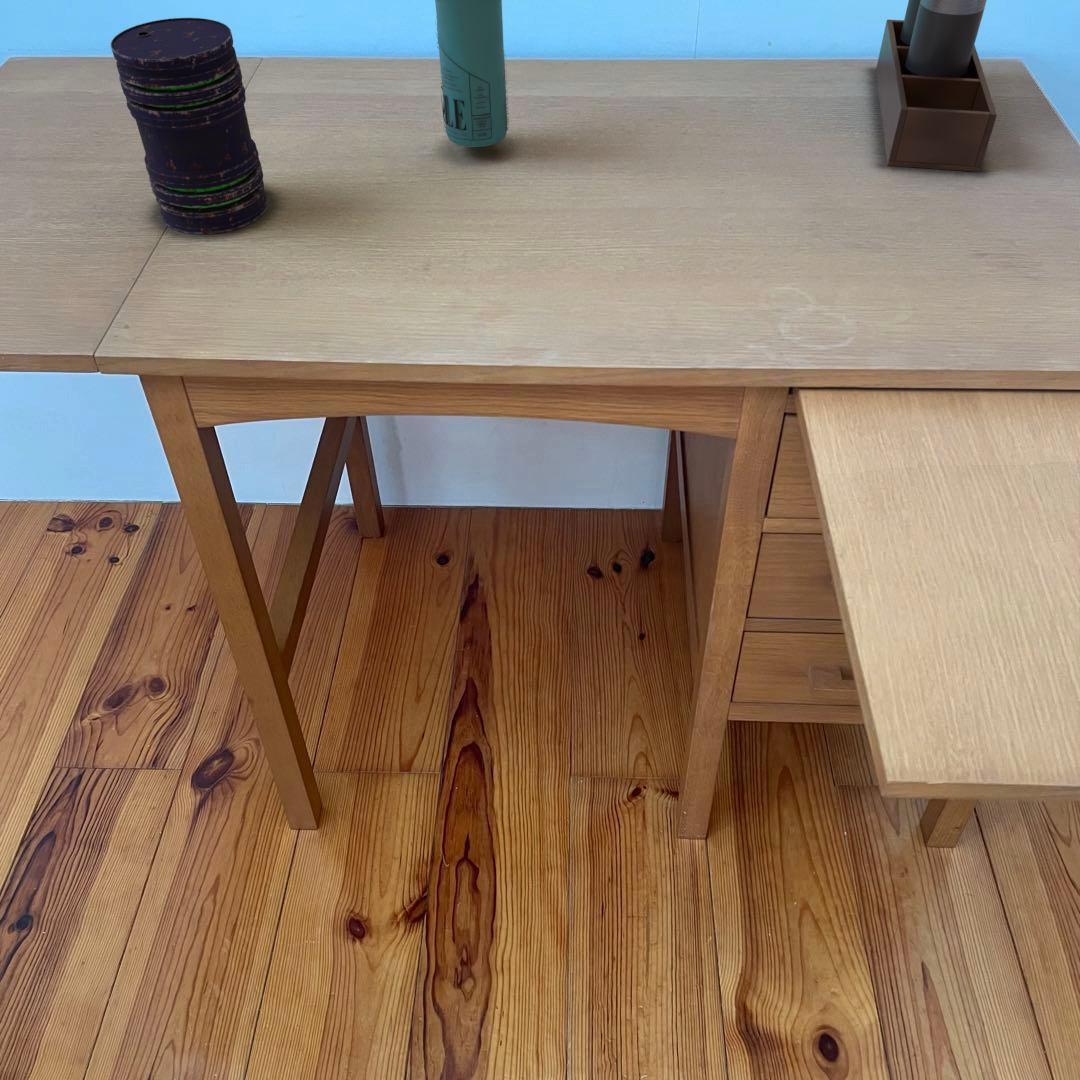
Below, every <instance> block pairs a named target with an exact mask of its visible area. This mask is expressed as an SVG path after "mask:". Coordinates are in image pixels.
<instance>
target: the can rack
mask: <svg viewBox="0 0 1080 1080" xmlns="http://www.w3.org/2000/svg"><path fill="white" fill-rule="evenodd" d="M903 23H904V19H886V22H885V27H884V31H883V36H882V40H881V43H880V44H881V45H880V49H879V53H878V54H879V55H878V57H877V58H878V59H877V63H876V67H875V75H876V84H877V92H878V100H879V106H880V107H879V108H880V116H881V124H882V133H883V140H884V147H885V149H884V150H885V156H886V164H887V166H891V167H904V168H918V169H919V168H920V169H932V170H944V171H945V170H946V171H960V172H974V173H975V172H976V173H979V172H980V171H981V168H982V165H983V161H984V159H985V155H986V152H987V149H988V147H989V142H990V139H991V136H992V133H993V130H994V126H995V123H996V119H997V116H998V113H997V111H996V107H995V105H994V101H993V97H992V95H991V91H990V89H989V85H988V82H987V80H986V76H985V72H984V70H983V66H982V64H981V60H980V58H979V54H978V51H977V48H976V44H974V48H973V51H972V55H971V58H970V62H969V66H968V69H967V72H966V75H965V78H951V77H934V76H917V75H903V73H904V69H905V64H906V59H907V55H908V51H909V47H910V46H899V41H900V36H901V32H902V27H903Z"/></svg>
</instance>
